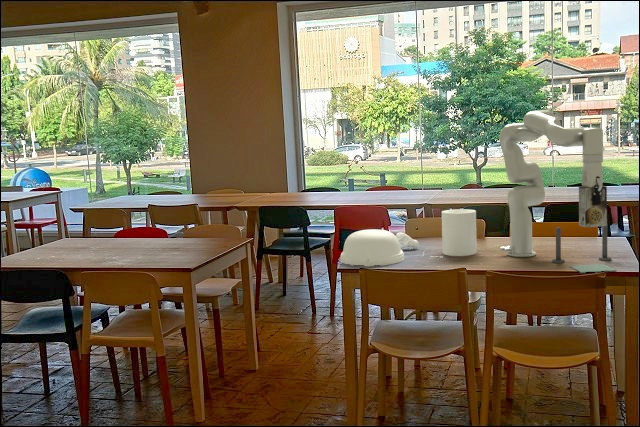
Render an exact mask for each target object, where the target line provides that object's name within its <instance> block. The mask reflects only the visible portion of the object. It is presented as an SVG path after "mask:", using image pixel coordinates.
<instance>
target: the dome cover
mask: <svg viewBox="0 0 640 427" xmlns="http://www.w3.org/2000/svg"><path fill="white" fill-rule="evenodd" d="M400 246H401V244H399V241H398V239H397V237H396V234H394V233H392V232H391V231H388V230H385V229H377V228H376V229H375V228H374V229H370V228H369V229H362V230H358V231H355V232H352V233H351V234H349V235H348V236H347V238H346V239H345V242H344V245H343V249H342V250H343V251H342V252H341V254H340V260H339V261H340V262H341V263H342V264H344V265H347V264H348V263H349V264H354V265H364V266H363V267H367V266H368V267H375V266H374V265H380V266H388V265H395V264H398V263H401V262H403V261H404V260H405V253H404V251H403V249H402V250H401V248H400ZM354 265H353V266H354Z"/></svg>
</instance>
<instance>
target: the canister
mask: <svg viewBox="0 0 640 427" xmlns="http://www.w3.org/2000/svg"><path fill="white" fill-rule="evenodd" d="M441 240H442V241H441V244H442V255H445V256H450V257H466V256H467V257H469V256H474V255H476V254H477V253H478V252H477V251H478V250H477V249H478V245H477V242H478V239H477V210H475V209H469V208H468V209H466V208H465V209H464V208H462V209H461V208H460V209H459V208H458V209H455V208H454V209H446V210H442V211H441Z"/></svg>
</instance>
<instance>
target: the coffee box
mask: <svg viewBox="0 0 640 427" xmlns="http://www.w3.org/2000/svg"><path fill="white" fill-rule="evenodd" d="M594 187H597V186H594ZM607 187H608V186H607V185H603V184H602V189H601V204H600V205H592V195H593V189H592V188H589V187H585V186H582V185H581V186H580V185H579V186H578V226H580V227H583V228H595V227H602V226H607V227H608V201H607V200H608V194H607V193H608V189H607ZM595 190H596V189H595Z"/></svg>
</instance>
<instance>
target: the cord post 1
mask: <svg viewBox="0 0 640 427" xmlns="http://www.w3.org/2000/svg"><path fill="white" fill-rule="evenodd" d="M561 230H562V228H561V227H558V226H557V227H555V258H552V260H551V261H552V263H553V264H564V263H565V261H566V260H565V259H564V258H562V250H561V248H562V241H561V240H562V238H561V237H562V234H561V232H562V231H561Z"/></svg>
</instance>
